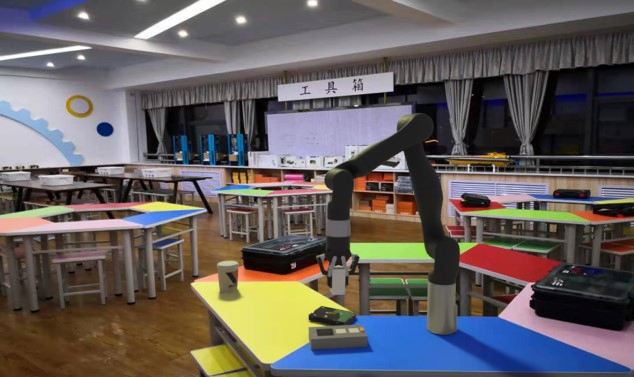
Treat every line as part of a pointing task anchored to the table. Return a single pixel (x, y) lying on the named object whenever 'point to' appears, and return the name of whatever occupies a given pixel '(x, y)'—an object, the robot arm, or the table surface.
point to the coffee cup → (228, 276)
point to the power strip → (337, 337)
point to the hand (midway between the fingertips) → (337, 286)
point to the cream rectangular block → (338, 281)
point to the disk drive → (332, 316)
